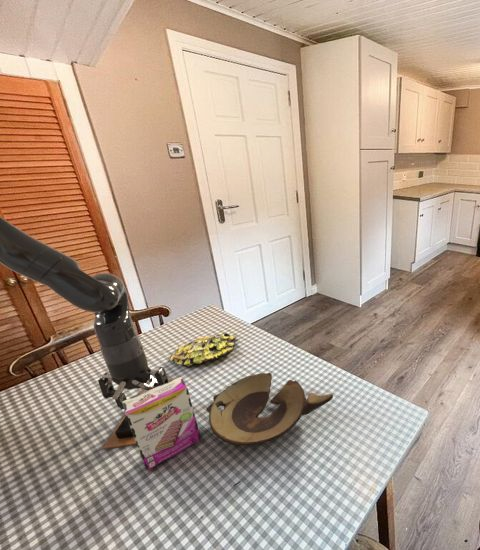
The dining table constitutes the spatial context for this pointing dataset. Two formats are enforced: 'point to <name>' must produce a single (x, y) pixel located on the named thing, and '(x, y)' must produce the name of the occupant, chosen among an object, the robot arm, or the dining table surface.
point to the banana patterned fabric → (204, 349)
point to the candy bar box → (162, 422)
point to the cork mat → (116, 442)
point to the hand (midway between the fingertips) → (142, 404)
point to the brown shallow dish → (259, 410)
